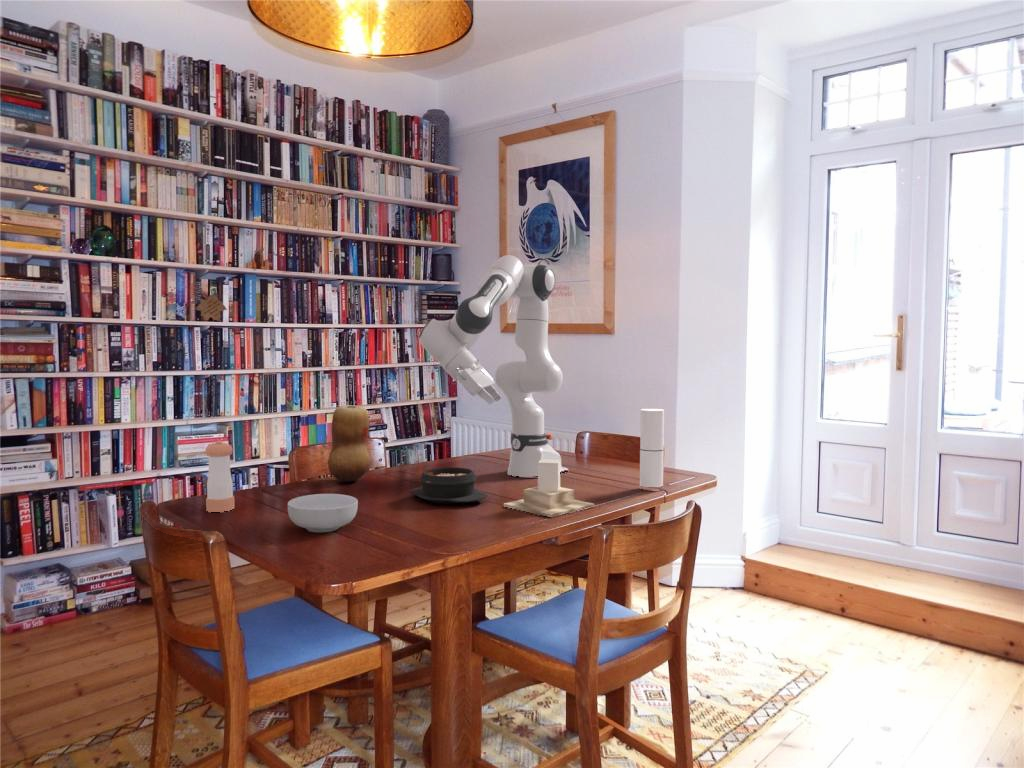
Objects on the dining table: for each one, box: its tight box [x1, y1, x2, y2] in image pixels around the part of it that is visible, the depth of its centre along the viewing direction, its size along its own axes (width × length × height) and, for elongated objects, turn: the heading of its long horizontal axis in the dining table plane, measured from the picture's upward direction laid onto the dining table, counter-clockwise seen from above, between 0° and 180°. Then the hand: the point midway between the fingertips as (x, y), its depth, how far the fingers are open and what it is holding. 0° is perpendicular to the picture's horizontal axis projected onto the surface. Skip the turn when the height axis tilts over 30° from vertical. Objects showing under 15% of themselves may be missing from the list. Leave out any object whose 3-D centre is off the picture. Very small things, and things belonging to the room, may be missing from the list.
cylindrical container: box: [639, 408, 665, 487], centre depth 232 cm, size 7×7×25 cm
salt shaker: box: [204, 440, 236, 513], centre depth 204 cm, size 7×7×19 cm
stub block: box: [502, 486, 595, 518], centre depth 208 cm, size 18×18×8 cm
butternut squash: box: [327, 404, 371, 483], centre depth 243 cm, size 14×13×25 cm
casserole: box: [409, 466, 489, 505], centre depth 218 cm, size 25×19×8 cm
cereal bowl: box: [287, 493, 359, 533], centre depth 185 cm, size 17×17×7 cm
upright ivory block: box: [537, 459, 561, 492], centre depth 208 cm, size 6×6×8 cm
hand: (496, 401), depth 212 cm, fingers open, 8 cm apart
